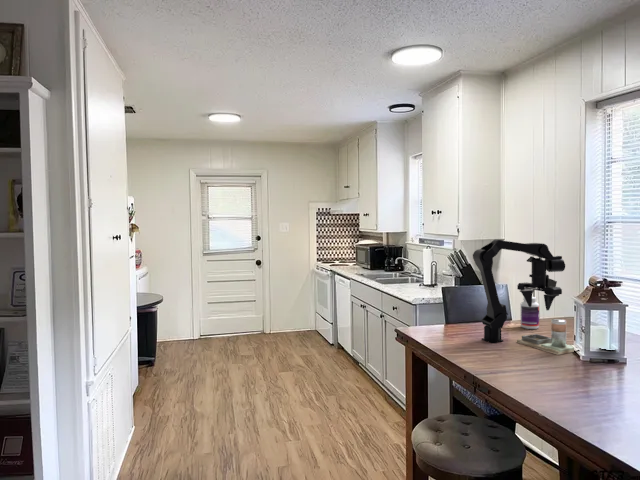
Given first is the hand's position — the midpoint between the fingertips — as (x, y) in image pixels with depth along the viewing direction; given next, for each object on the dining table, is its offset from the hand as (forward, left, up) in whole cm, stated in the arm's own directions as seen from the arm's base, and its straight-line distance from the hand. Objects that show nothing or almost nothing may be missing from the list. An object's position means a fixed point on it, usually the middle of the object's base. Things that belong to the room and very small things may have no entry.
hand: (538, 308), depth 199 cm
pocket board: (-7, -11, -13) cm, 18 cm away
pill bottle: (+12, +16, -13) cm, 24 cm away
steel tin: (-7, -16, -11) cm, 21 cm away
